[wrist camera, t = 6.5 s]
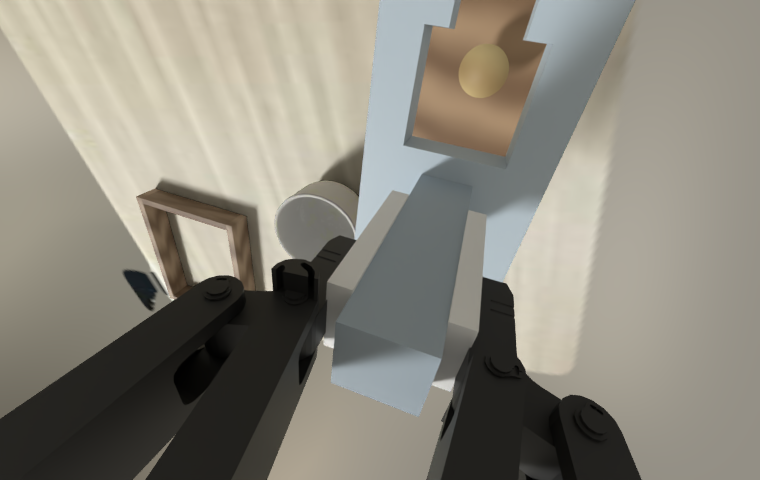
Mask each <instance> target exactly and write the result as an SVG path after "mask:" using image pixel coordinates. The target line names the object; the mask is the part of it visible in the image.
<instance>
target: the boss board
mask: <svg viewBox="0 0 760 480" xmlns="http://www.w3.org/2000/svg"><path fill="white" fill-rule="evenodd" d="M535 2H536V0H461V3H460V7H459V12H458V16H457V21H456V25H455V29H449V28H442V27H436V26H433V28H432V33H431V39H430V44H429V49H428V55H427V60H426V65H425V71H424V76H423V81H422V86H421V92H420V97H419V102H418V108H417V113H416V118H415V123H414V129H413V134H412V136H415V137H420V138H424V139H429V140H433V141H437V142H442V143H446V144H451V145H455V146H460V147H464V148H468V149H473V150H477V151H482V152H486V153H491V154H495V155H499V156H504V157H505V156H506V153H507V151H508V148H509V145H510V143H511V140H512V137H513V134H514V132H515V129H516V126H517V124H518V121H519V118H520V115H521V113H522V110H523V107H524V105H525V102H526V99H527V96H528V94H529V91H530V88H531V86H532V83H533V80H534V77H535V75H536V72H537V69H538V67H539V64H540V61H541V58H542V56H543V53H544V50H545V48H546V45H547V44H543V43H537V42H531V41H525V40H523V38H524V35H525V32H526V29H527V26H528V23H529V20H530V17H531V14H532V11H533V8H534V5H535Z"/></svg>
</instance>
